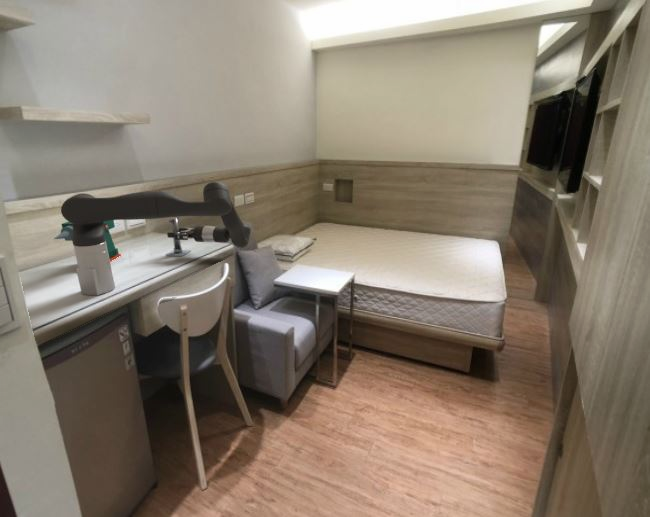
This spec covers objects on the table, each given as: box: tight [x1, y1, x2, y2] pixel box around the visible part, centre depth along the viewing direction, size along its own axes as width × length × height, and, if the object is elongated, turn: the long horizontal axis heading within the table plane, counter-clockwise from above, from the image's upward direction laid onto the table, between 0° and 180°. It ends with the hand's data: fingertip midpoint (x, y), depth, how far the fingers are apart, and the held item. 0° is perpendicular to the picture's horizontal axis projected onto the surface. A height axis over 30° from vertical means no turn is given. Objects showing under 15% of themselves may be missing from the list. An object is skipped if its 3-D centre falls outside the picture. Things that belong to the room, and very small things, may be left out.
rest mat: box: [164, 249, 192, 257], centre depth 161 cm, size 8×8×1 cm
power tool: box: [53, 220, 122, 263], centre depth 139 cm, size 32×7×20 cm, turn 0°
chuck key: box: [168, 217, 183, 254], centre depth 159 cm, size 7×4×16 cm, turn 172°
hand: (173, 232), depth 158 cm, fingers open, 8 cm apart
